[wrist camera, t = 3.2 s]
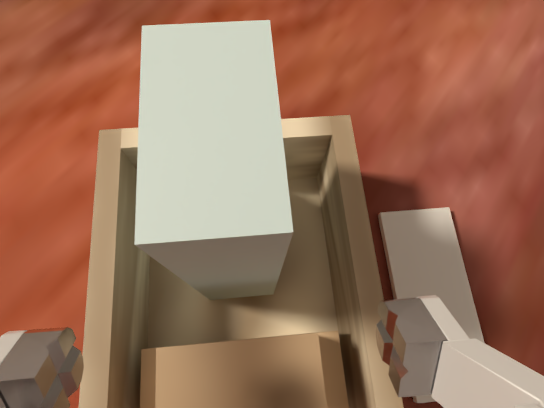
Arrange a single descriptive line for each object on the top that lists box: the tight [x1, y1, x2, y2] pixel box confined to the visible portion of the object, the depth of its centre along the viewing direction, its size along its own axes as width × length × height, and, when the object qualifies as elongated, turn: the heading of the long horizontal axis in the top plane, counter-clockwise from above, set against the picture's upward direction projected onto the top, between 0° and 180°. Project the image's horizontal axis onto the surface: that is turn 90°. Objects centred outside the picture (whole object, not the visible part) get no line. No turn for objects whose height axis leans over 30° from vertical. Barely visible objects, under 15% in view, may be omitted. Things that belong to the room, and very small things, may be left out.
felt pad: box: [378, 207, 484, 403], centre depth 25 cm, size 5×12×1 cm, turn 5°
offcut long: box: [140, 331, 349, 408], centre depth 20 cm, size 10×4×4 cm, turn 95°
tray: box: [79, 115, 404, 408], centre depth 21 cm, size 14×18×7 cm
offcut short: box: [155, 333, 327, 408], centre depth 17 cm, size 7×4×3 cm, turn 95°
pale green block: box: [134, 20, 293, 300], centre depth 18 cm, size 4×7×15 cm, turn 5°
